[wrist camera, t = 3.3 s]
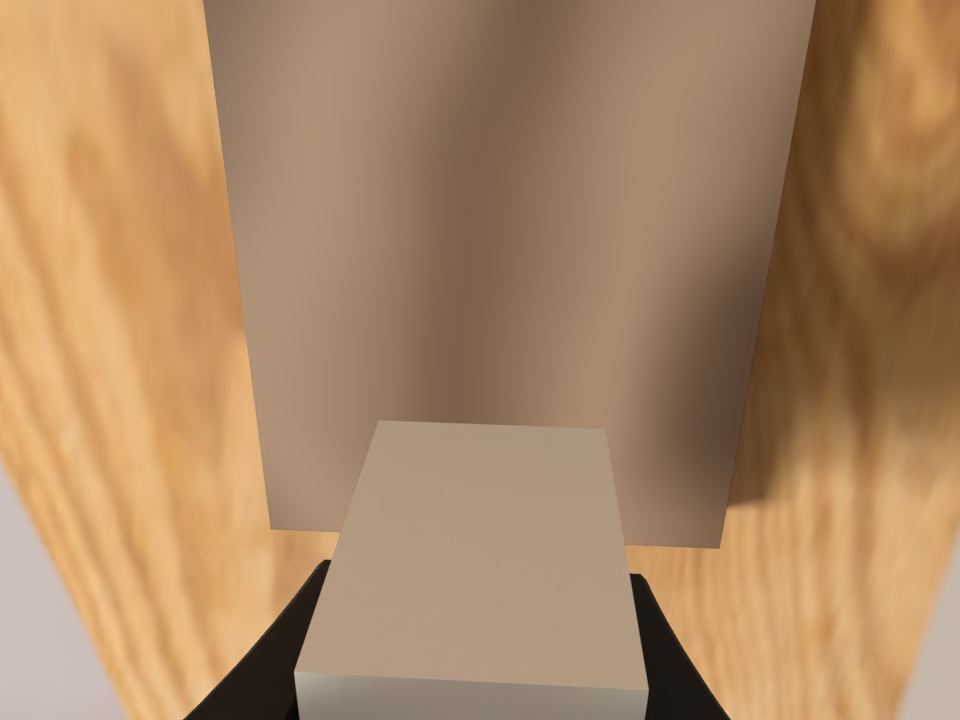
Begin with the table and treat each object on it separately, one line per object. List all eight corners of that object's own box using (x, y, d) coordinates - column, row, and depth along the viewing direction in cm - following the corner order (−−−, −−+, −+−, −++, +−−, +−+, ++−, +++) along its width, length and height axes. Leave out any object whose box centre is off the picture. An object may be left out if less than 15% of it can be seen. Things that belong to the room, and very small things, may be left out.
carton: (368, 419, 13) (278, 671, 8) (605, 428, 12) (649, 690, 8) (383, 678, 15) (320, 984, 10) (581, 688, 15) (604, 1003, 10)
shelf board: (809, -116, 15) (837, -124, 13) (707, 511, 21) (719, 548, 19) (217, -119, 15) (186, -128, 14) (287, 494, 21) (270, 529, 20)
